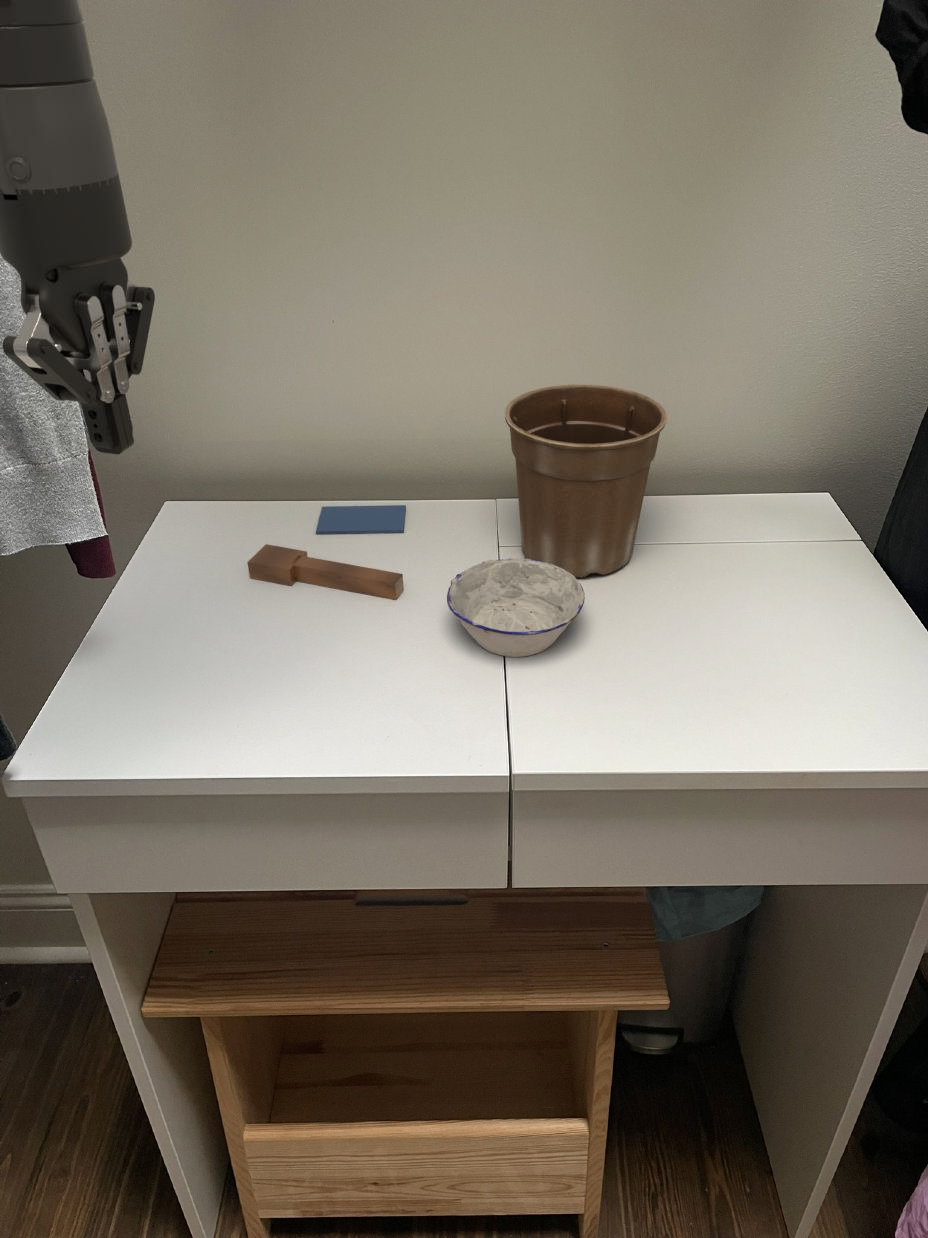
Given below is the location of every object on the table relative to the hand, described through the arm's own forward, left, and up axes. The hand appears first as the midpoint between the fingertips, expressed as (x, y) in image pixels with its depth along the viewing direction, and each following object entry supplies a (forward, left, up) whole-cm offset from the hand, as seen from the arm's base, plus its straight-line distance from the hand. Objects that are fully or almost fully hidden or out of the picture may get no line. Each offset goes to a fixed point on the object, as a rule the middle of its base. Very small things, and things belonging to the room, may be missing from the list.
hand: (115, 448), depth 64 cm
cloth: (+28, +28, -27) cm, 48 cm away
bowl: (+32, 0, -27) cm, 42 cm away
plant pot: (+46, +10, -27) cm, 54 cm away
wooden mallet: (+20, +17, -27) cm, 37 cm away
